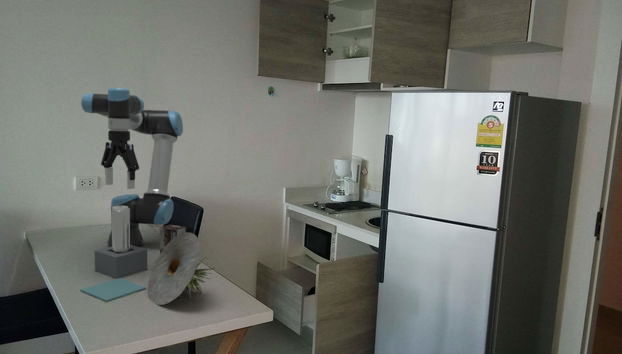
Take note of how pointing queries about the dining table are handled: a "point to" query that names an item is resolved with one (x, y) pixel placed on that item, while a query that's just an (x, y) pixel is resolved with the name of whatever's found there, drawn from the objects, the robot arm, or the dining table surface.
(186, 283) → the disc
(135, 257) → the grey hollow square block
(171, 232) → the coffee box
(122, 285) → the teal mat
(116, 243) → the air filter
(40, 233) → the dining table surface
